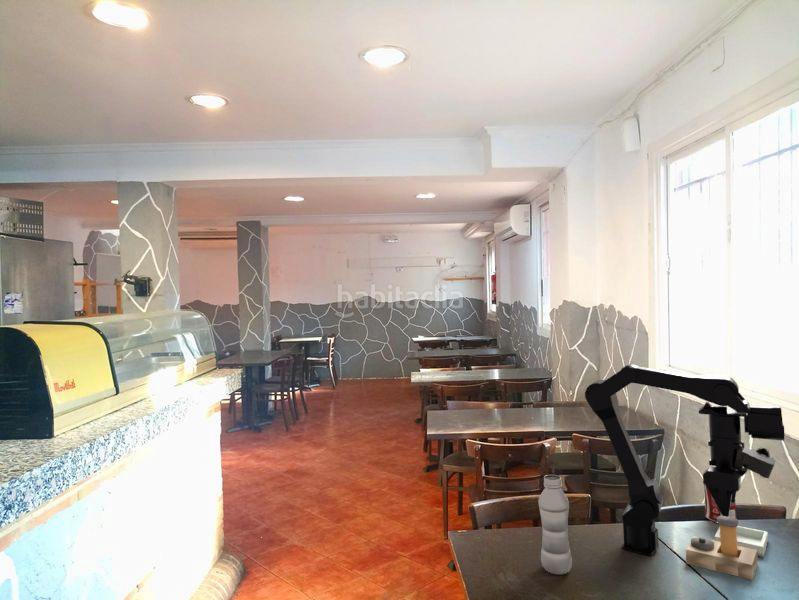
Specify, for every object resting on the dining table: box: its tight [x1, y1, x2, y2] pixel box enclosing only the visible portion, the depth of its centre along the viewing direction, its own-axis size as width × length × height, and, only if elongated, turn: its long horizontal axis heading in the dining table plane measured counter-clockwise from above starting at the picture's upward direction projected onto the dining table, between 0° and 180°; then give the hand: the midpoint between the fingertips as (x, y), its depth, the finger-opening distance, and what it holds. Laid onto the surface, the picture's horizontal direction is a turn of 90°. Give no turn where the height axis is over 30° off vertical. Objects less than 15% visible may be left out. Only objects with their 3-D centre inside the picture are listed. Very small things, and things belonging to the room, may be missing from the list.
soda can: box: [703, 484, 737, 523], centre depth 134 cm, size 7×7×12 cm
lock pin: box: [717, 516, 739, 557], centre depth 112 cm, size 4×4×10 cm
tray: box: [714, 525, 769, 557], centre depth 121 cm, size 9×9×2 cm
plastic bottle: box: [537, 474, 573, 576], centre depth 113 cm, size 6×7×20 cm
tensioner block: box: [685, 535, 759, 581], centre depth 113 cm, size 12×8×4 cm, turn 50°
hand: (728, 508), depth 112 cm, fingers open, 9 cm apart
